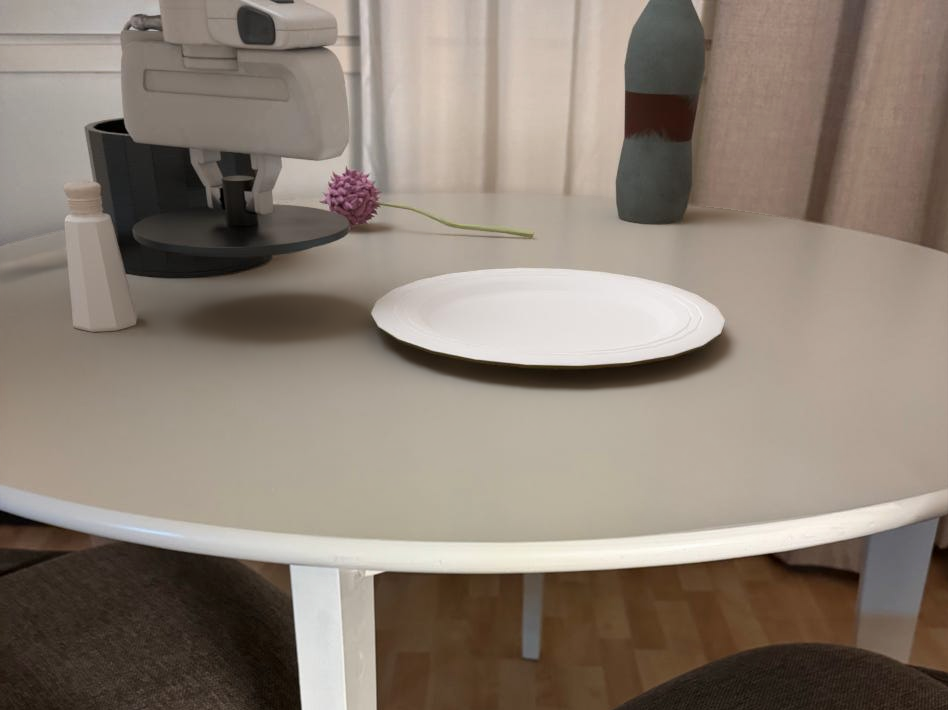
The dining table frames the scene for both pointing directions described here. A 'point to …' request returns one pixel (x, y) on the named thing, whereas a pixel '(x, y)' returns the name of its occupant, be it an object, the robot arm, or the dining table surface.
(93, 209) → the salt shaker
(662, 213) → the bottle
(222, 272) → the trash can
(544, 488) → the dining table surface
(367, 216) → the artificial flower
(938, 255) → the dining table surface
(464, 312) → the plate
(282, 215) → the bin lid
